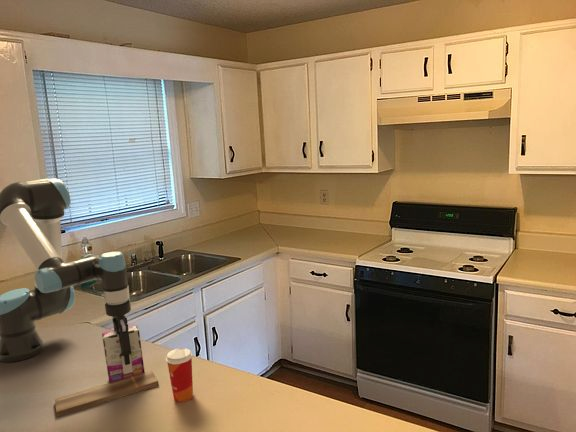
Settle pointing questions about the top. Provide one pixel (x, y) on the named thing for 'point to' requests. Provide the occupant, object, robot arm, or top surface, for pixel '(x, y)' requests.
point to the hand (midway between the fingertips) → (125, 367)
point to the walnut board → (105, 393)
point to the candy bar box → (114, 351)
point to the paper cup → (180, 374)
